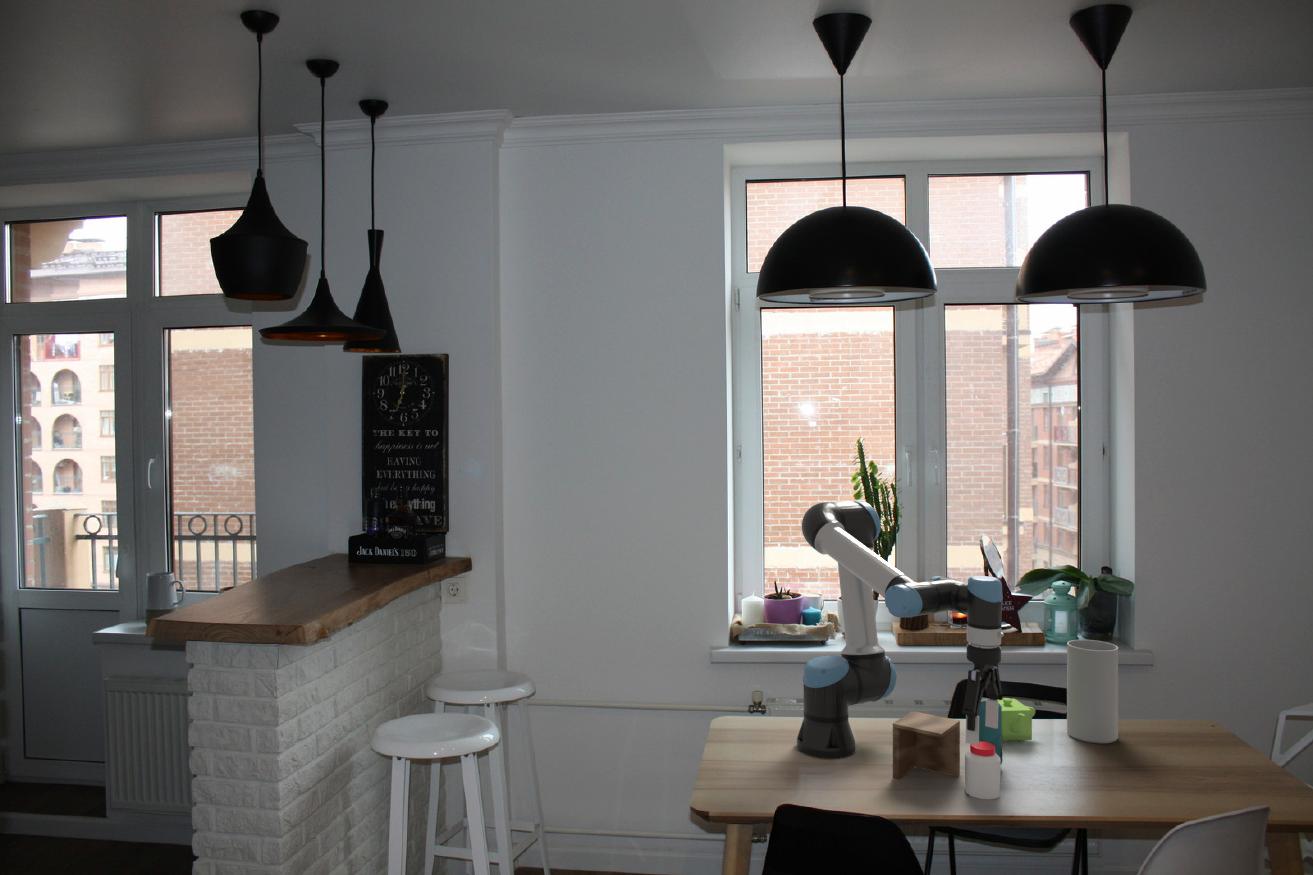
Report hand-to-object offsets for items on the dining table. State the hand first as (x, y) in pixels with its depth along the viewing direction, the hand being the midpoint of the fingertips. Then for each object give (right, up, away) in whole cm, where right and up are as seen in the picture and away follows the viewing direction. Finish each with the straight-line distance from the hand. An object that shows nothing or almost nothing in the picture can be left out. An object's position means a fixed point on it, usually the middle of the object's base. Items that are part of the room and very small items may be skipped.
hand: (982, 735), depth 206 cm
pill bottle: (0, -13, 0) cm, 13 cm away
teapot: (+20, -13, +36) cm, 43 cm away
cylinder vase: (+44, -13, +37) cm, 59 cm away
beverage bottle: (+7, -13, +15) cm, 21 cm away
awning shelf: (-10, -13, +9) cm, 19 cm away
